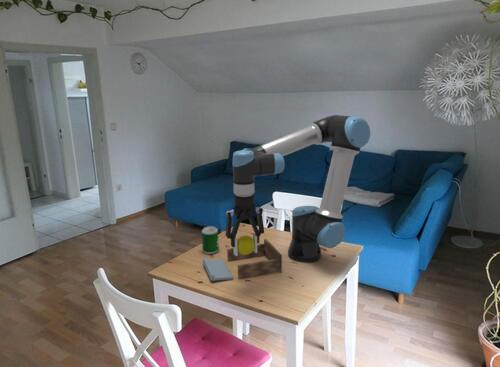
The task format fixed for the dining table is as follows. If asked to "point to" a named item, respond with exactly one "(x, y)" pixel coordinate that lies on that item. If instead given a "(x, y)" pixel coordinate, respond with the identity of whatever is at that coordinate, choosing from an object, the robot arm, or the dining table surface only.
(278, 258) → the crate
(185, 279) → the dining table surface
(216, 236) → the soda can
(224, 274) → the blue-grey book
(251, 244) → the tennis ball
